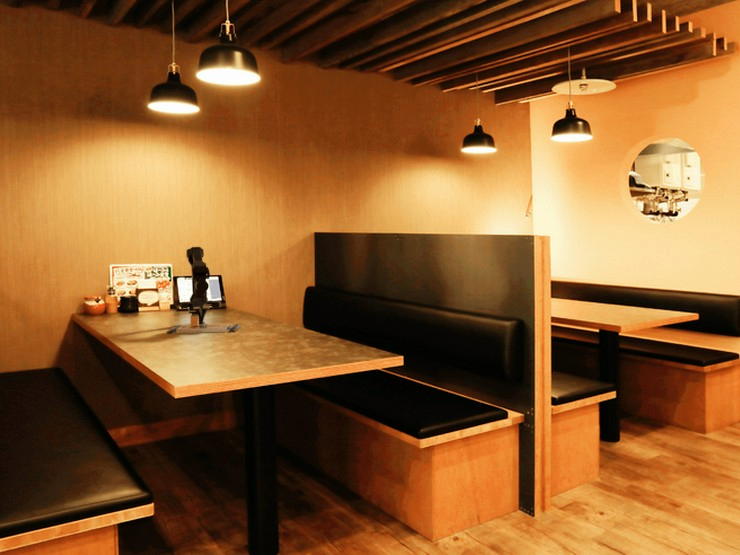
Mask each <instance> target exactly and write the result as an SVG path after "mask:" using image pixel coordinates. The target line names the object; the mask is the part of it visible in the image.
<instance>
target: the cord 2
mask: <svg viewBox="0 0 740 555" xmlns="http://www.w3.org/2000/svg"><path fill="white" fill-rule="evenodd" d="M232 326H233V327H232V328H231V329H230V330H229V331H228V332H230V333H231V332H234V333H235V332H237V330H239V329H240V328H241V327H242V325H241V324H238V323H235V324H234V325H232Z"/></svg>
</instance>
